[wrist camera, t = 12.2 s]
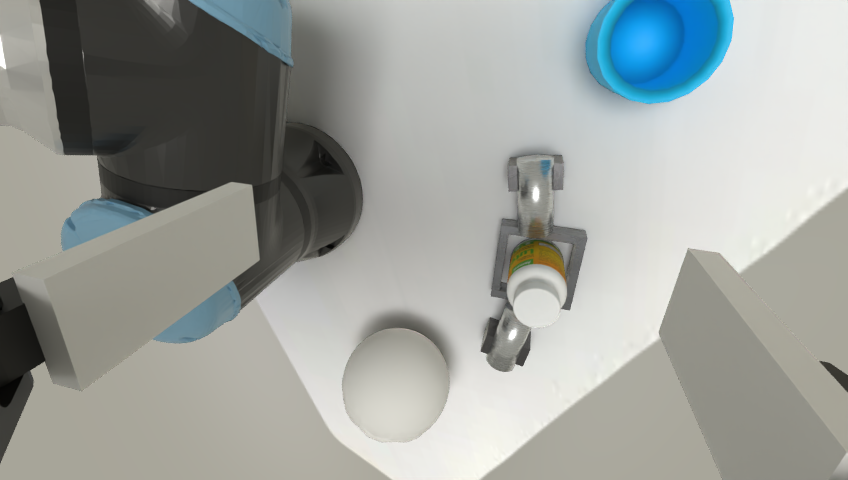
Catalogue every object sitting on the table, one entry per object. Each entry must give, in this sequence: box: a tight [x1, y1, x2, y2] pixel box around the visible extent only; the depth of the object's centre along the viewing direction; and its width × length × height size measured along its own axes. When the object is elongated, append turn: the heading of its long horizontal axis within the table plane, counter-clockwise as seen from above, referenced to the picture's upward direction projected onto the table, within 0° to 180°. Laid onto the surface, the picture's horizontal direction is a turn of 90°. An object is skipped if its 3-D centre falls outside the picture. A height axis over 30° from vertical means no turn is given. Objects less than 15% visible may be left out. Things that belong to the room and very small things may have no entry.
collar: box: [491, 219, 587, 310], centre depth 44 cm, size 8×8×2 cm
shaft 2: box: [508, 155, 563, 238], centre depth 40 cm, size 7×5×5 cm
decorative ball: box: [342, 328, 449, 442], centre depth 49 cm, size 12×12×12 cm
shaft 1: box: [481, 302, 531, 372], centre depth 47 cm, size 7×5×5 cm
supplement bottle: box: [507, 238, 567, 328], centre depth 41 cm, size 5×5×10 cm
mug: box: [586, 0, 734, 104], centre depth 32 cm, size 12×8×8 cm
